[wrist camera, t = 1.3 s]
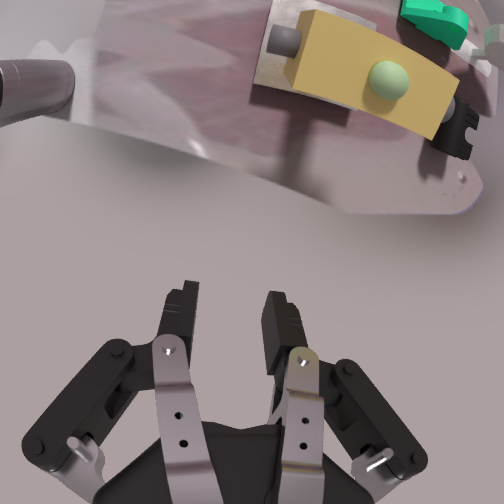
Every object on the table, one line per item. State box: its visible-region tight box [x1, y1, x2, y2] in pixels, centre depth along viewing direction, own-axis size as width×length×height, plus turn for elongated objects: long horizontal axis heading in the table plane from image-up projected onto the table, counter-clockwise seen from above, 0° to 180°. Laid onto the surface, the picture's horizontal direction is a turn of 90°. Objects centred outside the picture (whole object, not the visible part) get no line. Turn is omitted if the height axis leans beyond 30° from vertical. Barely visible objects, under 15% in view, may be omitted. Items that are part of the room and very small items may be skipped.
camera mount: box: [400, 0, 469, 50], centre depth 22 cm, size 12×8×10 cm, turn 77°
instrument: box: [266, 9, 460, 140], centre depth 21 cm, size 16×6×20 cm, turn 79°
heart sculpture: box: [450, 24, 504, 77], centre depth 21 cm, size 16×5×18 cm, turn 81°
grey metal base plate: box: [253, 0, 377, 111], centre depth 29 cm, size 15×15×6 cm
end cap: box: [430, 96, 479, 160], centre depth 35 cm, size 10×7×7 cm
